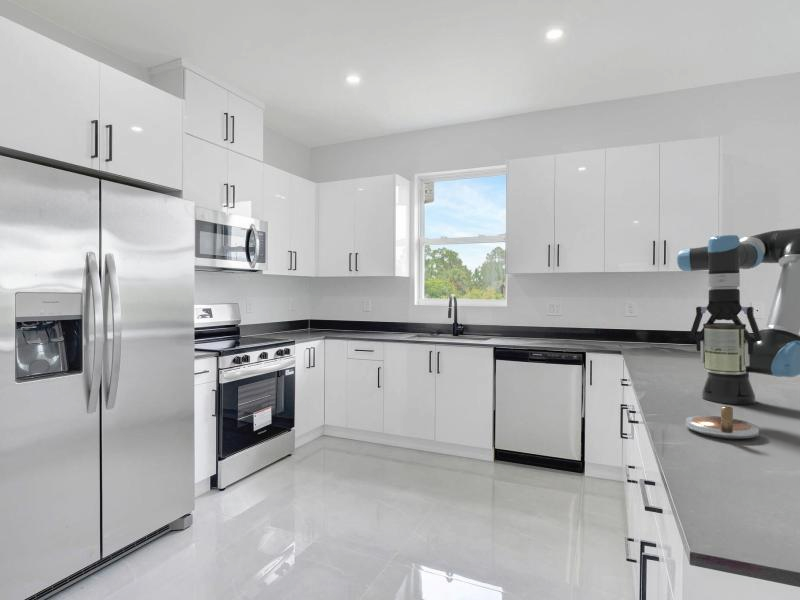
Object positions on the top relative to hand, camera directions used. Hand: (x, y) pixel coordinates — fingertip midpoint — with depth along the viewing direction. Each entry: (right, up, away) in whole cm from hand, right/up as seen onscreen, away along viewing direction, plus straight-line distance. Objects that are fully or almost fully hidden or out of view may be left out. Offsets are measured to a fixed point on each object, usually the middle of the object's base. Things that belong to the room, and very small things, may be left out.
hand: (724, 363), depth 136 cm
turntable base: (-10, -17, -13) cm, 23 cm away
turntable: (-10, -16, -13) cm, 23 cm away
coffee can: (0, -3, 0) cm, 3 cm away
